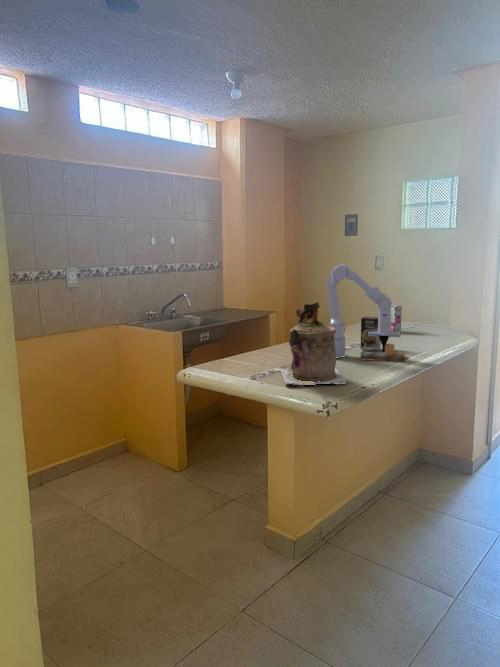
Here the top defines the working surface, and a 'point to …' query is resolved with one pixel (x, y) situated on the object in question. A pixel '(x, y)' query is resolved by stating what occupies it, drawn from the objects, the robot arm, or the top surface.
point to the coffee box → (369, 326)
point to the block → (389, 349)
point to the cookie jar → (312, 350)
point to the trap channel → (381, 355)
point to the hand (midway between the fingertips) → (383, 351)
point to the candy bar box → (396, 318)
